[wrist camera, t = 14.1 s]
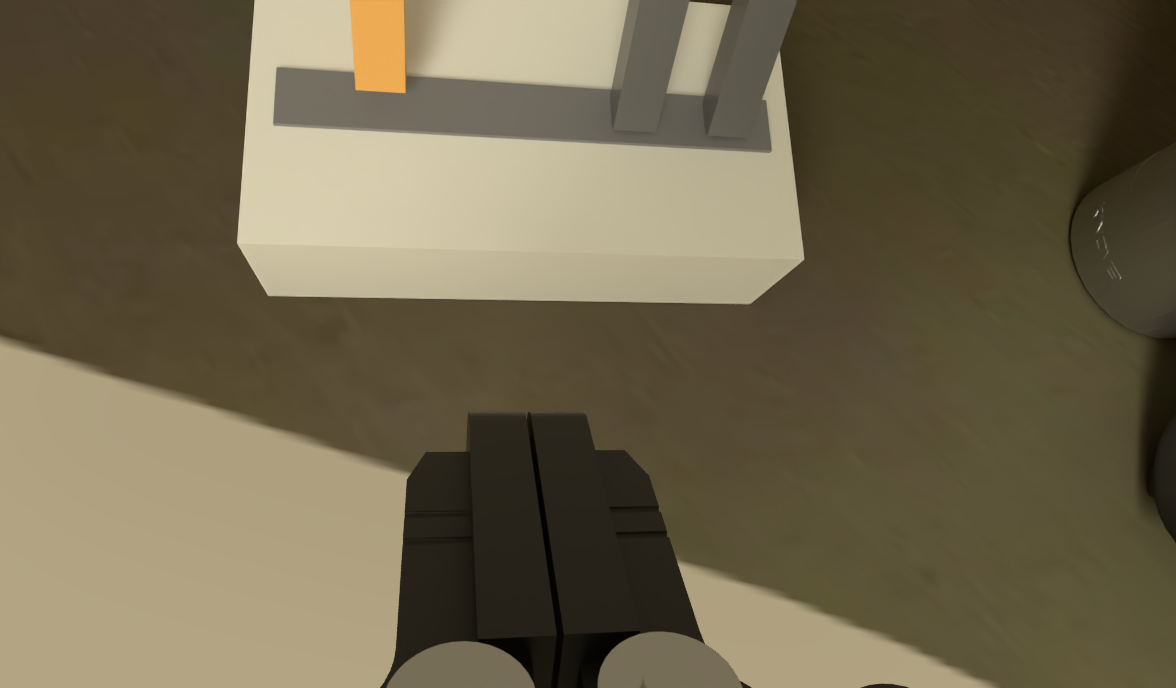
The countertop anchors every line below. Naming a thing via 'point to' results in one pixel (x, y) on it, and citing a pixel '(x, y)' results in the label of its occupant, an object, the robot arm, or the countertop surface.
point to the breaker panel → (523, 153)
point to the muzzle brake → (1165, 478)
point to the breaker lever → (379, 45)
